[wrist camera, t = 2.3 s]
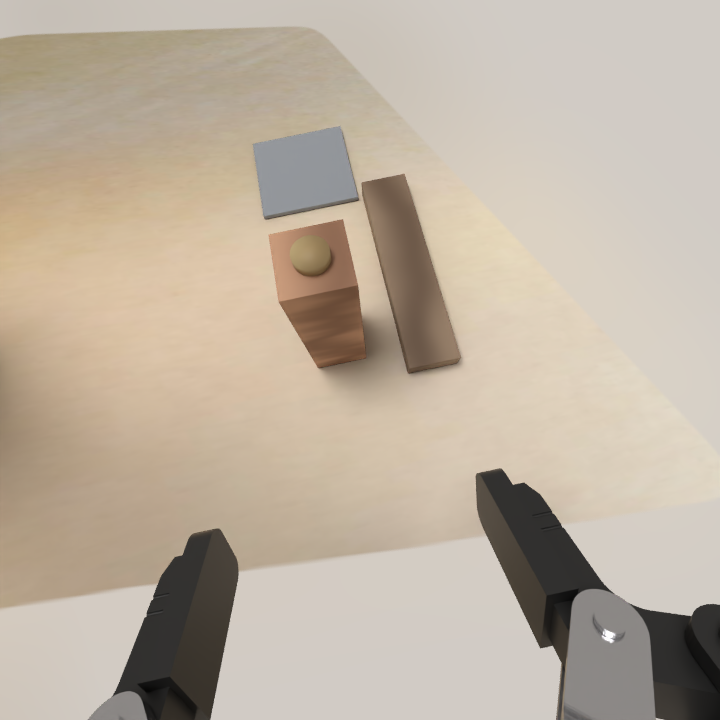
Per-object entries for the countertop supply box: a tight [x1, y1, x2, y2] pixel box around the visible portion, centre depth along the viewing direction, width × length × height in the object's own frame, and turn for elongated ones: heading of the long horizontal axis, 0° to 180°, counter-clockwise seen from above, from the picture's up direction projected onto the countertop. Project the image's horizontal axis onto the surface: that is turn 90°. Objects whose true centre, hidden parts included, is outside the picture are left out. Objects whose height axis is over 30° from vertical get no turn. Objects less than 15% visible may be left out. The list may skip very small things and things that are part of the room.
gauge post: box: [269, 219, 366, 368], centre depth 24 cm, size 4×4×13 cm
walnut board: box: [362, 174, 461, 373], centre depth 30 cm, size 4×18×2 cm, turn 12°
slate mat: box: [253, 126, 358, 219], centre depth 35 cm, size 9×9×1 cm
